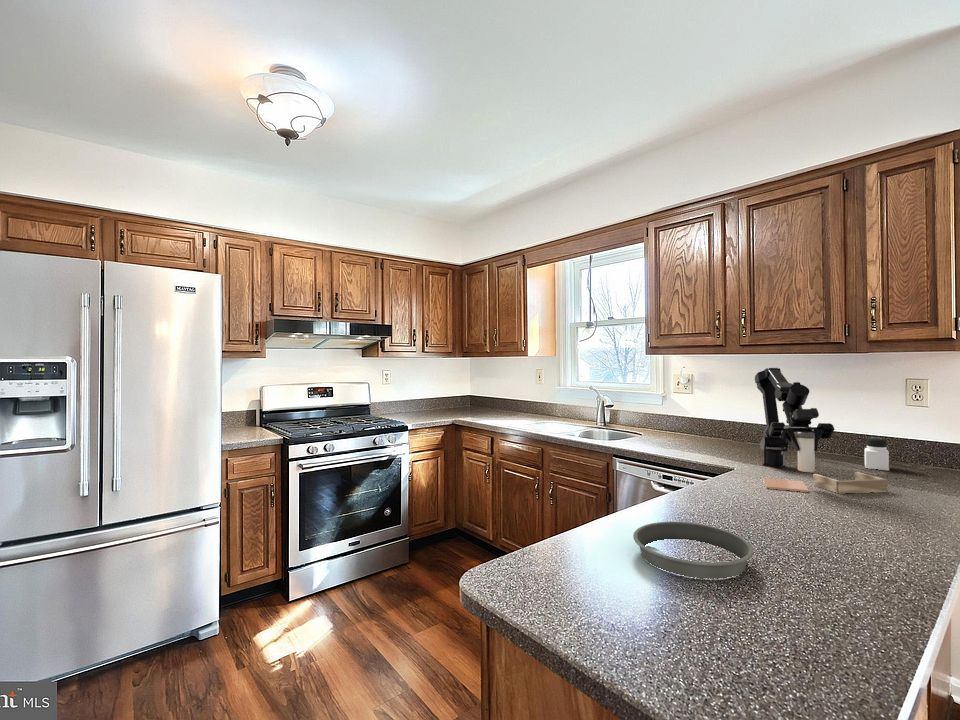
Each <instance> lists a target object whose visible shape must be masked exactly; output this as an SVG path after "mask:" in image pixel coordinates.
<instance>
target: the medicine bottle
mask: <svg viewBox="0 0 960 720" xmlns="http://www.w3.org/2000/svg"><path fill="white" fill-rule="evenodd" d="M887 445H888V444H887V440H886V439H885V438H883V437H875V436H874V437H873V436H871V437H867V438H866V447H865V448H864V467H865V469H866V468H868V470H876V469H878V471H886V472H887V471H890V469H891V468H890V452H889V450H888V447H887Z"/></svg>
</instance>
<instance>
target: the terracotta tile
mask: <svg viewBox="0 0 960 720" xmlns="http://www.w3.org/2000/svg"><path fill="white" fill-rule="evenodd" d="M762 481H763V484H764V487H765V486H766V487H765V489H766V488H769V489H768V490H775V489H778V490H777V491H786V490H790V491H789V492H796V491H800V492H799V493H807V492H809V493H810V490H809V489H808V487H807V486H806V484H805V483H804V481H801V480H791V479H789V480H788V479H779V478H767V477H766V478H765V477H763V478H762Z"/></svg>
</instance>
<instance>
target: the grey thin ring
mask: <svg viewBox="0 0 960 720" xmlns="http://www.w3.org/2000/svg"><path fill="white" fill-rule="evenodd" d="M632 535H633V536H632V537H633V540H634V542H635V543H636V544H637V546H638V547H639V549H640V553H641V556H643V557H644V558H645V559H646V560H647V561H648V562H649V563H651V564H652V565H654V566H656V567H658V568H661V569H663V570H666V571H669V572H673V573H676V574H680V575H684V576H689V577H697V578H710V579H711V578H713V579H714V578H727V577H732V576H736V575H738V574H741V573H742V572H743V571H744V570H746V565H747V562H748V560H750V559H751V558H752V557H753V555H754V548H753V546H752V545H751V543H749V541H748V540H746V539H744V538H743V537H741V536H740V535H738V534H735V533H733V532H730V531H728V530H726V529H723V528H719V527H716V526H712V525H708V524H701V523H696V522H690V521H689V522H687V521H660V522H652V523H648V524H644V525H642V526H640V527H638V528H637V529H636V530H635V531H634V532H633V534H632ZM664 539H689V540H696V541H700V542H705V543H709V544H712V545H715V546H718V547H721V548H724V549H726V550H729V551H730V552H732V553H734V554H736V555H737V556H738V557H740V558H741V559H738V560H734V561H729V562H716V563H710V562H695V561H688V560H682V559H677V558H673V557H669V556H667V555H664V554H663V553H661V552H660V553H659V552H657V551H655V550H653V549H650V547H645V545H646V544H648V543H651V542H653V541H657V540H664ZM643 557H642V558H643ZM644 558H643V559H644ZM649 563H648V564H649ZM744 572H745V571H744ZM741 575H742V574H741Z"/></svg>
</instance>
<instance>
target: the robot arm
mask: <svg viewBox="0 0 960 720" xmlns="http://www.w3.org/2000/svg"><path fill="white" fill-rule="evenodd" d="M754 381H755V382H754V383H755V384H756V388H757V389H758V391H759V392H760V393H761V394H762V400H763V402H762V403H763V409H764V417H765V426H766V427H765V429H764V431H763V433H762V438H761V440H760V443H759V448H760V450H762V451H763V463H762V466H766V465H767V466H768V467H775V468H782V467H784V466H785V465H786V456H785V454H784V452H788V449H789V448H788V447H789V444H790V446H791V447H792V448H794V449H795V450H796V451H799V450H800V449H799V445H798V442H797V437H796V435H795V434H797V432H799V431H805V432H813V433H815V438H814V449H815V452H817V451H818V446H819V440H821V439H824V440H825V439H826V440H827V439H828V440H829V439H830V438H831V436H832V435H833V434H834V431H835V427H834V425H833V424H832V423H829V422H828V423H827V422H826V423H825V422H819V423H818V424H817V426H815V427H814V426H810V425H811V424H812V420H813V419H817V418H819V416H820V413H819V410H818V409H817V408H816V407H810V408H803V407H802V406H804V405H805V404H806V401H807V398H808V397H809V395H810V388H808V387H807V386H806V385H804V384H801V382H799V381H798V382H797V381H795V382H793V383H790V382H789V381H788V379H786V377H785V376H784V374H783V373H782V371H781V368H779V367H767V368H765V369H763V370H761V371H758V372H756V374H755V376H754ZM777 401H778V402H783V403H782V404H781V405H782V412H783V413H784V415H785V418H786V421H785V422H786V424H785V422H783V421H781V422H780V418H779V412H778V411H779V410H778V405H777Z"/></svg>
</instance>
